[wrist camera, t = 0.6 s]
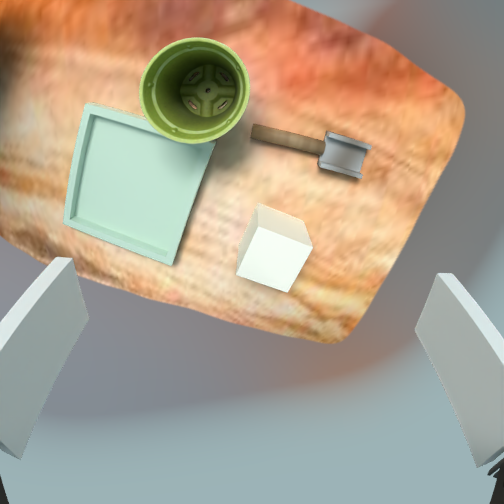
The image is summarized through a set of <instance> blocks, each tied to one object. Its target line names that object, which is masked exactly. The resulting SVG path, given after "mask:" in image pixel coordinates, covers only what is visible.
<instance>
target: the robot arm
mask: <svg viewBox="0 0 504 504" xmlns="http://www.w3.org/2000/svg"><path fill="white" fill-rule="evenodd" d="M88 320H89V315H88V312H87V309H86V306H85V302H84V299H83V295H82V292H81V288H80V285H79V281H78V277H77V274H76V270H75V266H74V262H73V258H63V257H56V258H55V259H54V260H53V261H52V262H51V263H50V264H49V265H48V266H47V268H46V269H45V270H44V271H43V272H42V273H41V274H40V275H39V276H38V278H37V279H36V280H35V281H34V282H33V283H32V284H31V286H30V287H29V288H28V289H27V290H26V291H25V293H24V294H23V295H22V296H21V297H20V298H19V300H18V301H17V302H16V304H15V305H14V306H13V307H12V308H11V309H10V311H9V312H8V313H7V314H6V316H5V317H4V318H3V319H2V321H1V322H0V449H1V450H2V451H4V452H6V453H8V454H10V455H12V456H14V457H16V458H18V459H20V460H21V458H22V455H23V452H24V450H25V447H26V445H27V443H28V440H29V438H30V435H31V433H32V431H33V428H34V426H35V424H36V422H37V419H38V417H39V415H40V413H41V410H42V408H43V406H44V404H45V402H46V400H47V398H48V396H49V394H50V391H51V389H52V387H53V385H54V383H55V381H56V379H57V377H58V375H59V373H60V371H61V369H62V368H63V366H64V364H65V362H66V360H67V358H68V356H69V354H70V352H71V350H72V349H73V347H74V345H75V343H76V341H77V340H78V338H79V336H80V334H81V332H82V331H83V329H84V327H85V325H86V324H87V322H88ZM414 330H415V332H416V334H417V336H418V338H419V340H420V341H421V343H422V345H423V347H424V349H425V351H426V353H427V355H428V357H429V359H430V361H431V363H432V365H433V367H434V369H435V371H436V373H437V375H438V377H439V379H440V381H441V383H442V386H443V388H444V390H445V392H446V394H447V396H448V398H449V400H450V403H451V405H452V407H453V410H454V411H455V414H456V416H457V419H458V421H459V423H460V426H461V428H462V430H463V433H464V435H465V438H466V440H467V443H468V445H469V448H470V451H471V453H472V456H473V458H474V461H475V464H476V466H477V468H478V467H480V466H483V465H485V464H487V463H489V462H491V461H493V460H495V459H496V458H497V457H498V456H499V455H500V454H501V453H503V452H504V339H503V338H502V336H501V335H500V333H499V332H498V331H497V329H496V328H495V327H494V325H493V324H492V322H491V321H490V320H489V318H488V317H487V316H486V314H485V313H484V312H483V311H482V309H481V308H480V307H479V305H478V304H477V303H476V302H475V300H474V299H473V298H472V297H471V296H470V294H469V293H468V292H467V291H466V290H465V288H464V287H463V286H462V285H461V283H460V282H459V281H458V280H457V279H456V277H455V276H454V275H453V274H450V273H447V274H446V273H437V275H436V278H435V280H434V283H433V286H432V288H431V291H430V294H429V296H428V299H427V301H426V304H425V306H424V309H423V311H422V314H421V316H420V318H419V320H418V323H417V325H416V327H415V329H414ZM499 468H500V470H499V471H498V472H497V473H495V474H494V476H493V477H495V478H497V481H496V485H495V488H494V492H493V495H492V498H491V501H490V504H504V458H503V459H502V460H501V461H499V462H498V463H497V464H496V465H495V466H493V467H492V468H491V469H490V470H489V473H488V475H491V474H492V473H494V472H495V471H496V470H498V469H499ZM0 504H9V502H8V499H7V496H6V493H5V490H4V487H3V484H2V480H1V477H0Z"/></svg>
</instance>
